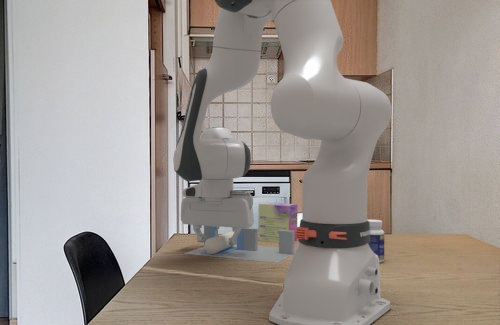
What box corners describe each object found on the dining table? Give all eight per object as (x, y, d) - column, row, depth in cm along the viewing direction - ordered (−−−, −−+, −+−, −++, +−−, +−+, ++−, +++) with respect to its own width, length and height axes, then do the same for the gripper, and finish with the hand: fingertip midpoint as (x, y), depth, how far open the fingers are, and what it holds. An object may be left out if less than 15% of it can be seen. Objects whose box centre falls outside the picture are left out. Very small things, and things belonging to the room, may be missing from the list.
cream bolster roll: (216, 256, 115) (219, 241, 115) (202, 251, 117) (206, 236, 116) (236, 247, 126) (239, 234, 126) (223, 243, 128) (227, 229, 127)
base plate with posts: (277, 266, 107) (277, 237, 107) (183, 256, 118) (183, 230, 118) (302, 252, 123) (302, 227, 123) (217, 244, 134) (217, 222, 134)
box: (297, 243, 136) (297, 203, 136) (288, 246, 131) (288, 205, 131) (267, 240, 142) (267, 202, 142) (258, 243, 137) (257, 203, 137)
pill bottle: (385, 264, 109) (385, 222, 109) (360, 263, 110) (360, 221, 110) (383, 258, 114) (383, 219, 114) (359, 258, 116) (359, 218, 115)
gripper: (257, 190, 118) (258, 244, 118) (190, 188, 126) (190, 238, 126) (247, 192, 112) (247, 248, 112) (177, 190, 121) (177, 242, 121)
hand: (216, 243), depth 119 cm, fingers open, 8 cm apart
